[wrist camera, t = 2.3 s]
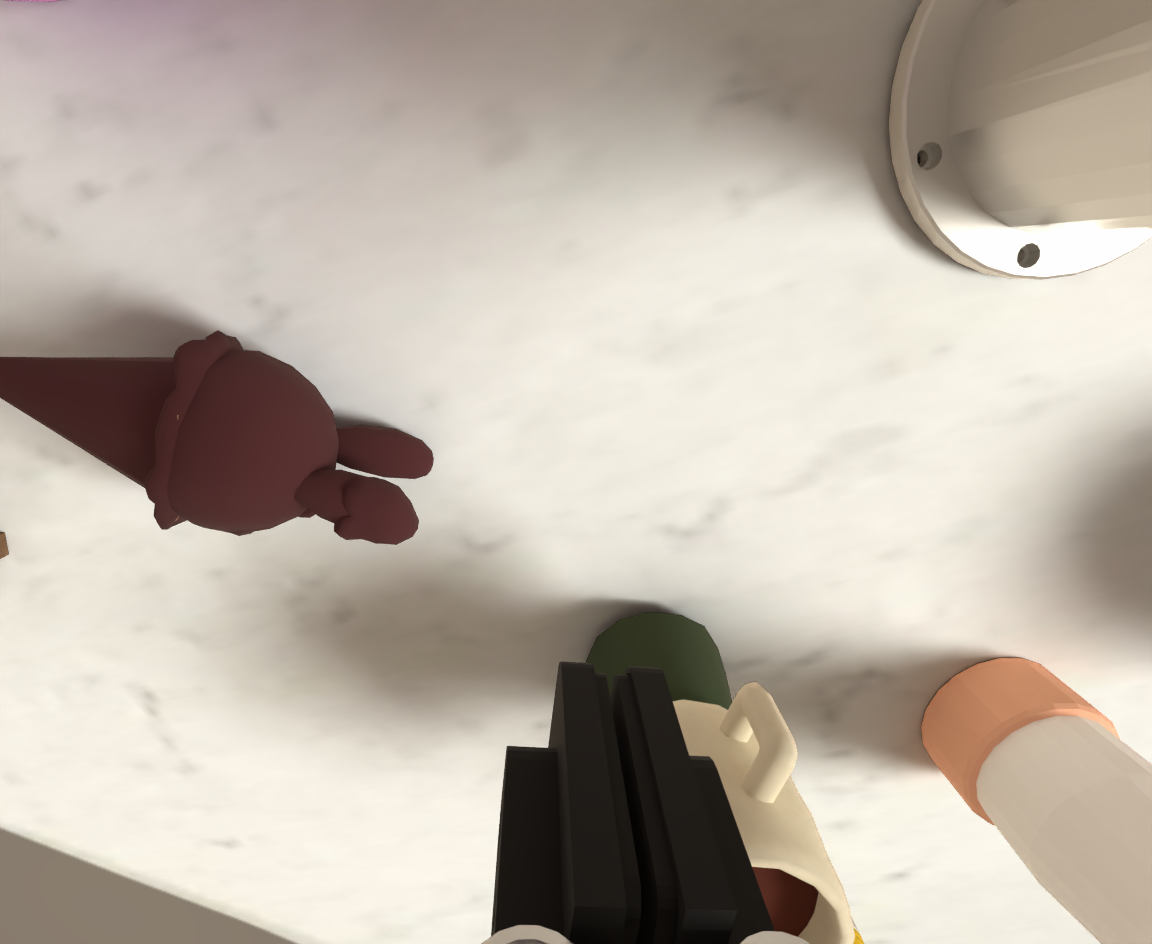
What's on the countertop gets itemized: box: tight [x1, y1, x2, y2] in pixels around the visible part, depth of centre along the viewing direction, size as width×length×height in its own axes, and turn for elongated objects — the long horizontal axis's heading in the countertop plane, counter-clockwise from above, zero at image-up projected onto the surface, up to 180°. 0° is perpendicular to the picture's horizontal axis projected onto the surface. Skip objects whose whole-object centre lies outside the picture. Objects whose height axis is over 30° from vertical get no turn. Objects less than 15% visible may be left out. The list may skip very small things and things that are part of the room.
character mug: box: [586, 612, 855, 944], centre depth 23 cm, size 11×7×13 cm, turn 159°
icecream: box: [0, 331, 434, 545], centre depth 21 cm, size 7×7×15 cm
